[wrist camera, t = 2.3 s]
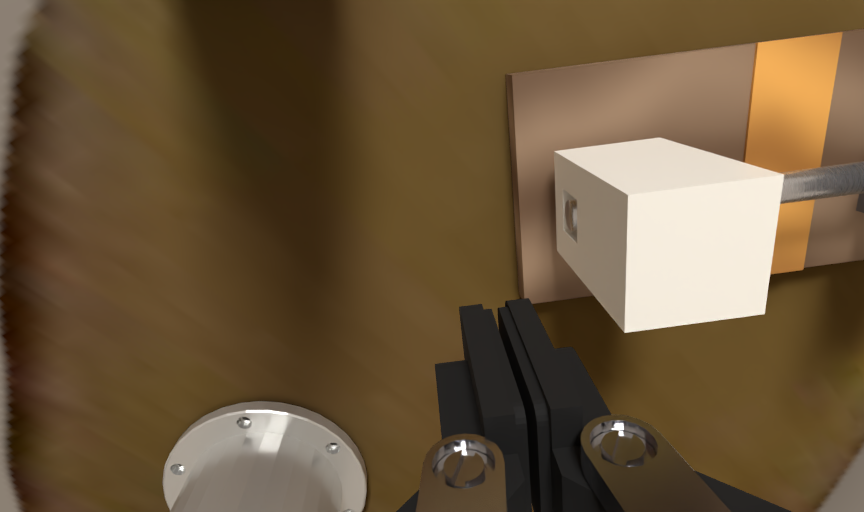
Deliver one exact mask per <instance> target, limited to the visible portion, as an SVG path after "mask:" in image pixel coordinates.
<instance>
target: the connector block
mask: <svg viewBox="0 0 864 512" xmlns="http://www.w3.org/2000/svg"><path fill="white" fill-rule="evenodd" d="M856 211H859V212H862V213H864V193H861V194H859V197H858V202H857V207H856Z"/></svg>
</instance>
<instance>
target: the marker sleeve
mask: <svg viewBox="0 0 864 512" xmlns="http://www.w3.org/2000/svg"><path fill="white" fill-rule="evenodd" d="M554 165H555V200H556V235H557V251H558V253H559V254H560V255H561V256H562V257H563V259H564V260H565V261H566V262H567V263H568V265H569V266H570V267H571V268H572V270H573V271H574V272H575V273H576V274H577V276H578V277H579V278H580V279H581V281H582V282H583V283H584V284H585V285H586V287H587V288H588V289H589V290H590V291H591V293H592V294H593V295H594V296H595V298H596V299H597V300H598V301H599V302H600V304H601V305H602V306H603V307H604V308H605V310H606V311H607V312H608V313H609V315H610V316H611V317H612V318H613V319H614V321H615V322H616V323H617V324H618V325H619V327H620V328H621V329H622V330H623V332H624V333H627V332H634V331H642V330H649V329H657V328H664V327H672V326H679V325H687V324H694V323H701V322H709V321H716V320H724V319H731V318H739V317H746V316H754V315H761V314H765V307H766V300H767V293H768V286H769V279H770V272H771V265H772V258H773V251H774V243H775V236H776V229H777V222H778V215H779V208H780V201H781V194H782V187H783V179H784V174H780V173H777V172H774V171H770V170H767V169H764V168H760V167H757V166H754V165H750V164H747V163H744V162H740V161H737V160H734V159H730V158H727V157H724V156H720V155H717V154H714V153H710V152H707V151H704V150H700V149H697V148H694V147H690V146H687V145H684V144H680V143H677V142H674V141H670V140H667V139H664V138H660V137H659V138H652V139H644V140H636V141H628V142H621V143H613V144H605V145H598V146H590V147H582V148H574V149H567V150H559V151H554ZM573 199H576V200H577V231H570V230H569V228H568V226H567V223H566V217H565V205H566V202H567V200H573Z"/></svg>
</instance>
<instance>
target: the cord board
mask: <svg viewBox="0 0 864 512" xmlns="http://www.w3.org/2000/svg"><path fill="white" fill-rule="evenodd" d="M506 87H507V104H508V120H509V137H510V153H511V170H512V187H513V203H514V220H515V237H516V253H517V270H518V287H519V294H520V296H521V298H522V299H525V298H529V299H530V301H531V303H532V304H535V303H542V302H550V301H558V300H565V299H573V298H580V297H588V296H594V295H593V294H592V293H591V291H590V290H589V289H588V288H587V287H586V285H585V284H584V283H583V282H582V281H581V279H580V278H579V277H578V276H577V274H576V273H575V272H574V271H573V270H572V268H571V267H570V266H569V265H568V263H567V262H566V261H565V260H564V259H563V257H562V256H561V255H560V254H559V253H558V251H557V235H556V200H555V165H554V151H559V150H567V149H574V148H582V147H590V146H598V145H605V144H613V143H621V142H628V141H636V140H644V139H652V138H659V137H660V138H664V139H667V140H670V141H674V142H677V143H680V144H684V145H687V146H690V147H694V148H697V149H700V150H704V151H707V152H710V153H714V154H717V155H720V156H724V157H727V158H730V159H734V160H737V161H740V162H744V163H747V164H750V165H754V166H757V167H760V168H764V169H767V170H770V171H774V172H777V173H779V172H787V171H795V170H802V169H810V168H818V167H825V166H833V165H841V164H848V163H856V162H864V29H858V30H850V31H842V32H834V33H826V34H818V35H810V36H803V37H795V38H787V39H779V40H771V41H763V42H755V43H748V44H740V45H732V46H724V47H716V48H708V49H700V50H693V51H685V52H677V53H669V54H661V55H653V56H645V57H637V58H630V59H622V60H614V61H606V62H598V63H590V64H582V65H575V66H567V67H559V68H551V69H543V70H535V71H527V72H520V73H512V74H506ZM858 197H859V194H853V195H846V196H838V197H831V198H823V199H815V200H808V201H800V202H792V203H785V204H780V208H779V215H778V222H777V229H776V236H775V243H774V251H773V258H772V265H771V272H770V274H776V273H784V272H791V271H799V270H803V268H805V267H813V266H820V265H828V264H836V263H843V262H851V261H858V260H864V213H862V212H859V211H856V207H857V202H858Z"/></svg>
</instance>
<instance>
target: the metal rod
mask: <svg viewBox="0 0 864 512" xmlns="http://www.w3.org/2000/svg"><path fill="white" fill-rule="evenodd" d="M779 173H780V174H784V179H783V187H782V194H781V201H780V204H785V203H792V202H800V201H808V200H815V199H823V198H831V197H838V196H846V195H853V194H861V193H864V162H856V163H848V164H841V165H833V166H825V167H818V168H810V169H802V170H795V171H787V172H779ZM565 217H566V223H567V226H568V228H569V230H570V231H577V200H576V199H573V200H567V202H566V205H565Z"/></svg>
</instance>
